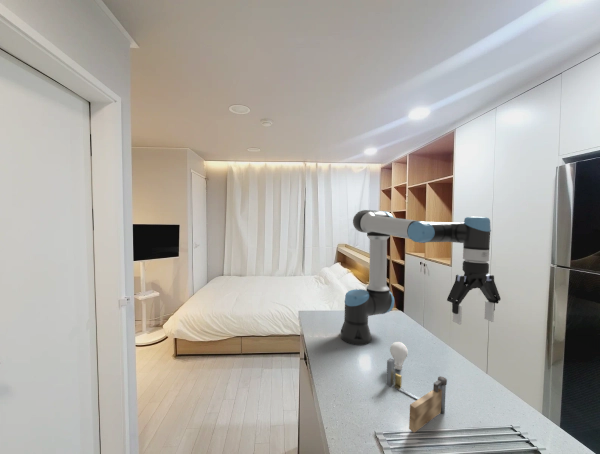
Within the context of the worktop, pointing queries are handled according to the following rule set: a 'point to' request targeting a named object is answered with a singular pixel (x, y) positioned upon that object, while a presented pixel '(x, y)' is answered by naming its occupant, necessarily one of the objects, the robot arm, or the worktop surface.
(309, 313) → the worktop surface
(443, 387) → the gate frame
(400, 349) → the light bulb
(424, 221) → the robot arm
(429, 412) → the gate
